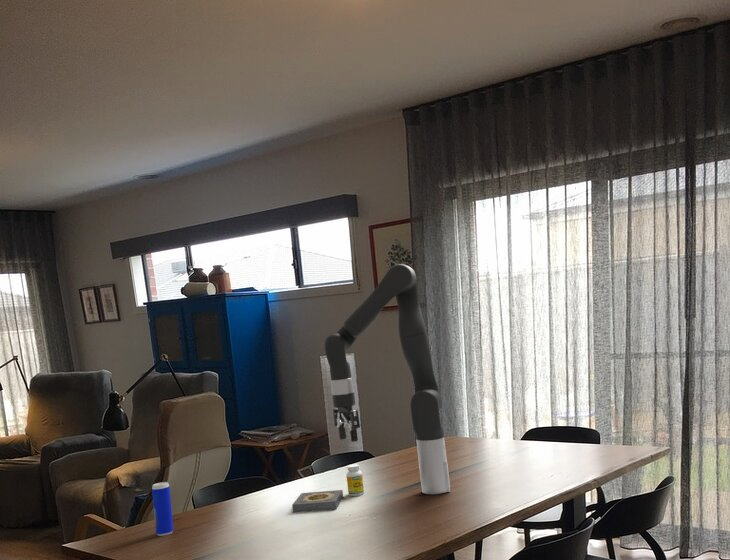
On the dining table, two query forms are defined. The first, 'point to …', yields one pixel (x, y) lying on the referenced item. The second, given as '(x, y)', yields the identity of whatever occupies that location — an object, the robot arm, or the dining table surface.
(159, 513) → the beverage can
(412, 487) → the dining table surface
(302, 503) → the mount plate
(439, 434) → the robot arm
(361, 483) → the supplement bottle
